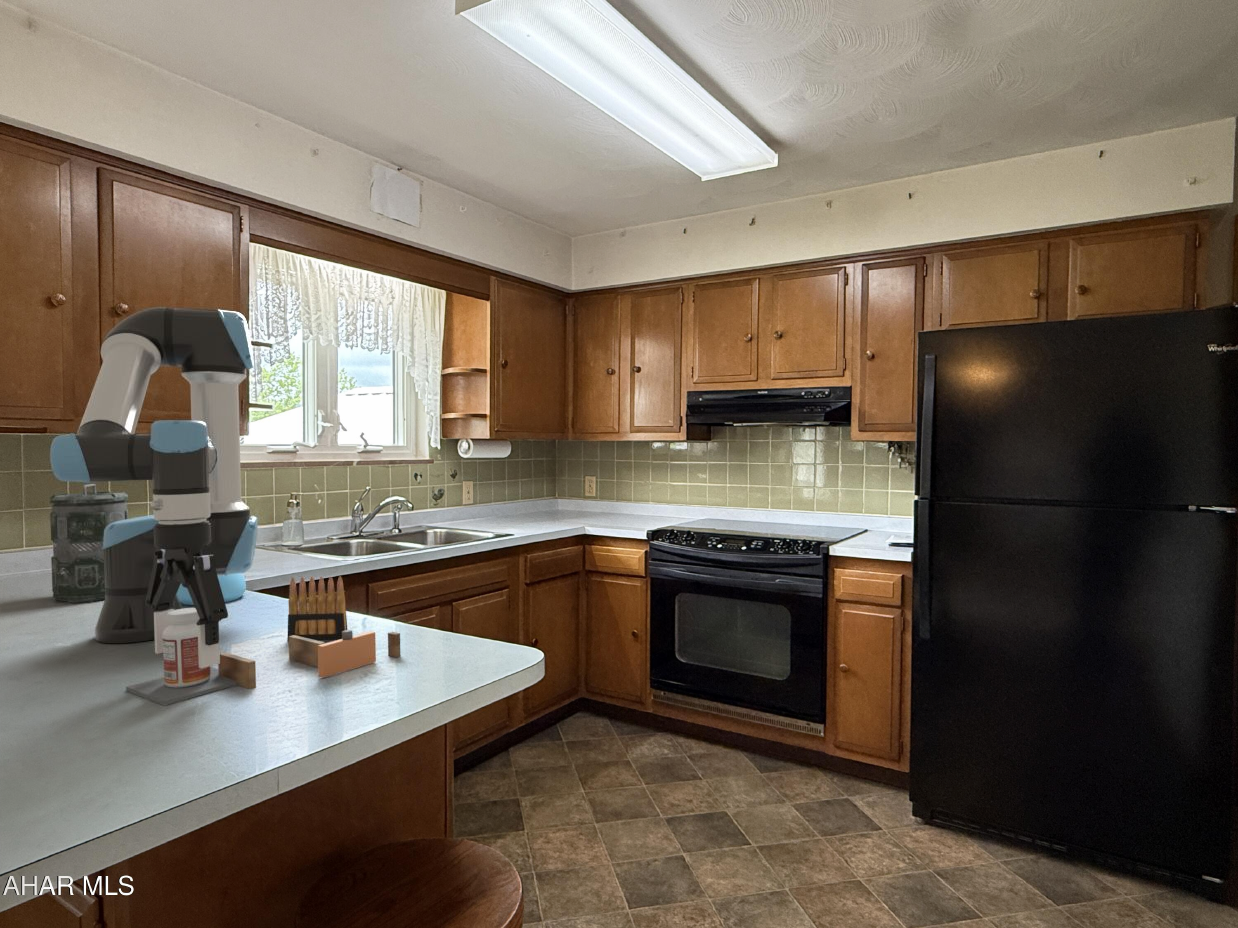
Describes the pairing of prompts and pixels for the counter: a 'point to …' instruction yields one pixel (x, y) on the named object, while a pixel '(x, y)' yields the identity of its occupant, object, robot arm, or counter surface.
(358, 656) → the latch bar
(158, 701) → the mat
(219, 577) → the sugar bowl
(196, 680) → the pill bottle
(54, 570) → the canister
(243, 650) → the counter surface
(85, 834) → the counter surface
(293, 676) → the counter surface
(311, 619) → the ammunition clip
